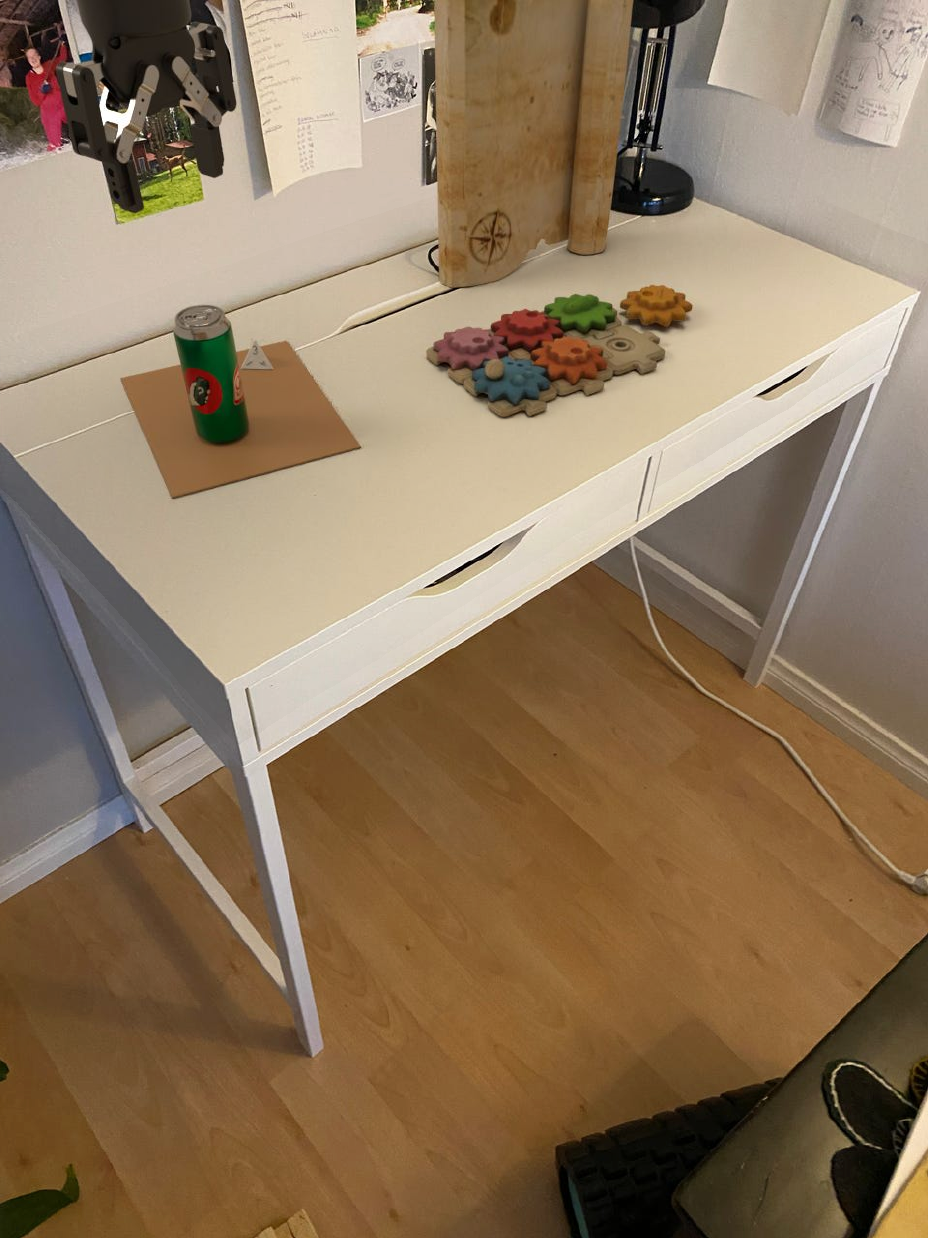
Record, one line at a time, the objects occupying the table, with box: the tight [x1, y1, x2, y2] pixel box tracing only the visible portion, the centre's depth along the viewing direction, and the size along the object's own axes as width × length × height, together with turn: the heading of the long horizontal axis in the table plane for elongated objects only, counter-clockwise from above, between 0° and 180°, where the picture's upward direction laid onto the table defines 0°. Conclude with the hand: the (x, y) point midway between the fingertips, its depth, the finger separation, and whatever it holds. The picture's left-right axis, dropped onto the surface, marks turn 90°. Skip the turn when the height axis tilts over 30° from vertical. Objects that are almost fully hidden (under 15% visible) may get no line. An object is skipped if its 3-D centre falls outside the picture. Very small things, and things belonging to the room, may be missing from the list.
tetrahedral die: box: [241, 339, 273, 370], centre depth 100 cm, size 4×3×3 cm
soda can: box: [172, 304, 249, 444], centre depth 88 cm, size 5×5×12 cm
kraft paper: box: [120, 340, 362, 500], centre depth 95 cm, size 18×22×1 cm
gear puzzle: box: [425, 284, 694, 417], centre depth 102 cm, size 31×16×4 cm, turn 123°
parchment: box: [433, 0, 634, 289], centre depth 108 cm, size 23×6×30 cm, turn 117°
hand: (172, 191), depth 76 cm, fingers open, 8 cm apart
